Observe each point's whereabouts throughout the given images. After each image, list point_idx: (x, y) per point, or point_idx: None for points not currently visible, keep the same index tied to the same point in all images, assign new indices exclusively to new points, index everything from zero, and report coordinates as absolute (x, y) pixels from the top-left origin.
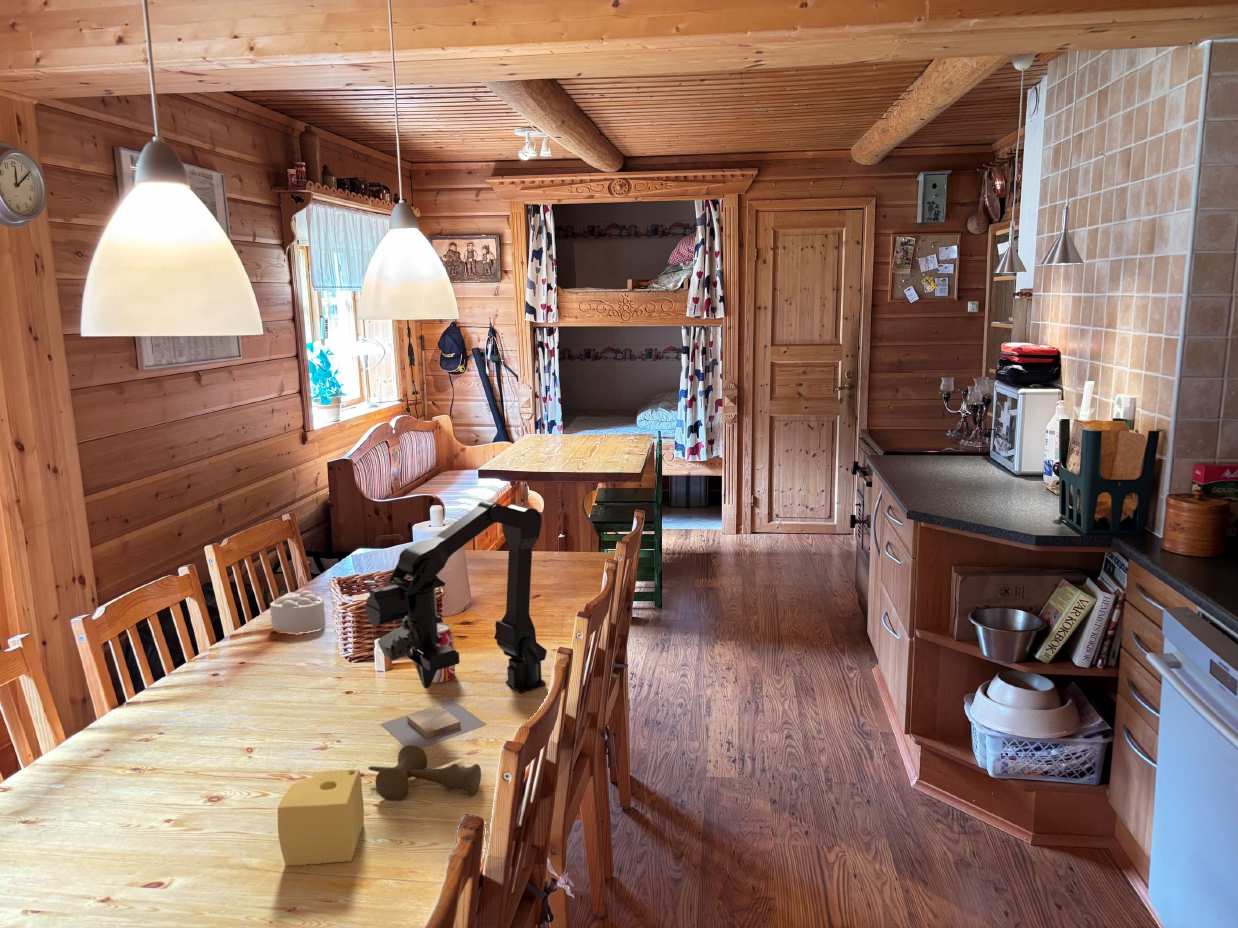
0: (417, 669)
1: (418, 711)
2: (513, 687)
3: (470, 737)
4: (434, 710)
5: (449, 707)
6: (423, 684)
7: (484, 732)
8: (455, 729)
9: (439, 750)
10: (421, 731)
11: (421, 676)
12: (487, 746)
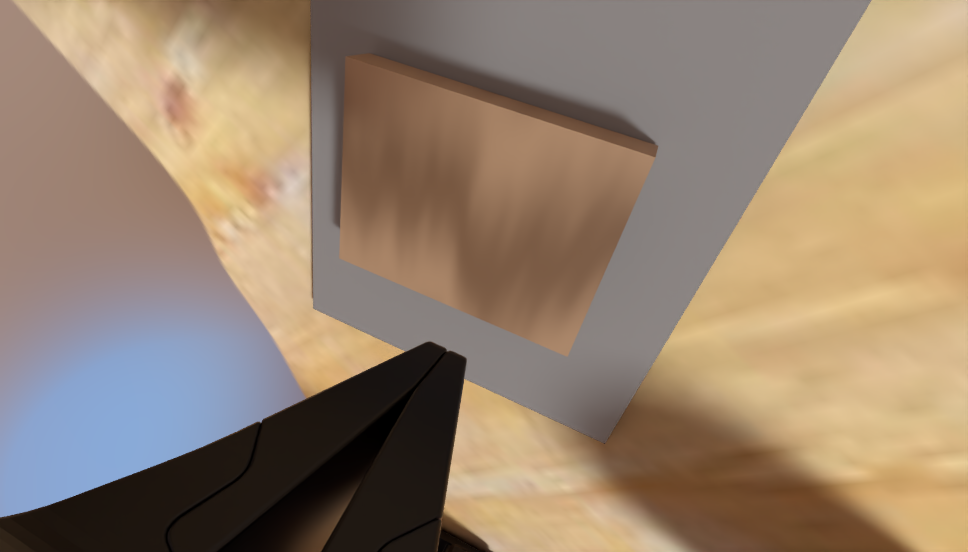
0: (387, 536)
1: (694, 288)
2: (462, 547)
3: (284, 203)
4: (541, 298)
5: (558, 378)
6: (419, 362)
7: (286, 262)
8: None
9: (262, 17)
10: (440, 79)
11: (354, 425)
12: (192, 180)
